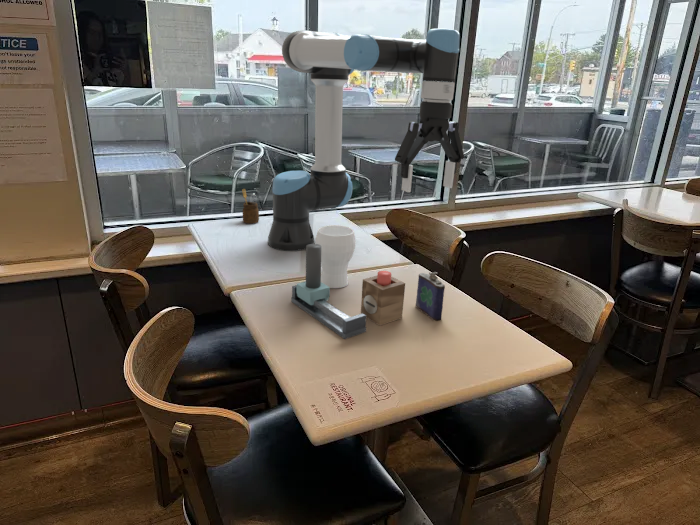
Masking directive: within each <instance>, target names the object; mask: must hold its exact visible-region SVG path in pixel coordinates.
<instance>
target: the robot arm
mask: <svg viewBox="0 0 700 525" xmlns="http://www.w3.org/2000/svg"><path fill="white" fill-rule="evenodd" d="M426 34H427V35H426V37H425V39H408V38H401V37H400V38H398V37H387V36H386V37H385V36H377V35H370V34H363V33H361V34H352V35H345V34H341V33H338V32H327V31H325V32H324V31H314V30H313V31H312V30H305V29H301V30H297V31H296V30H295V31H294V32H292V33H290V34H288V35H287V37H285V40H283V43H282V47H281V54H282V58H283V60H284V62H285V64H286V65H287V66H288V67H289V68H290V69H292V70H293V71H296V72H299V73H305V74H310V81H311V82H312V83H313V85H315V110H314V112H315V114H314V115H315V120H314V121H315V128H314V132H315V133H314V134H315V135H314V136H315V137H314V138H315V141H314V142H315V145H314V148H315V149H314V150H315V151H314V152H315V153H314V155H315V156H314V158H315V159H314V163H313V164H312V166H310V173H309V172H308V171H305V170H299V169H298V170H288V171H284V172H281V173H278V174H277V175H276V176H274V177H273V180H272V190H271V191H272V220H273V221H272V223H271V227H270V231H269V233H268V236H267V244H268V245H269V247H271V248H273V249H276V250H280V251H286V252H287V251H289V252H293V251H296V252H297V251H303V250H306V246H307V245H308V244H315V236H314V233H313V230H312V227H311V222H310V212H313V211H321V210H327V209H332V210H333V209H336V208H341V207H344V206H345V205H347V203H349V202H350V200H351V198H352V194H353V181H352V178H351V176H350V174H348V173H347V172H346V170H347V169H346V167H345V166H344V164H342V146H343V145H342V144H343V143H342V142H343V108H344V107H343V105H344V104H343V98H344V97H343V96H344V86H345V85H346V84H347V83H348V81H349V76H350V75H351V74H352V73H353V72H354V71H355V70H356V71H358V72H359V71H361V72H369V71H371V72H390V73H392V72H393V73H401V74H423V75H422V76H423V77H422V85H421V93H420V98H421V99H422V100H421V102H420V103H419V104H420V105H419V114H418V115H419V117H420V122H415V121H409V122H408V126H407V127H408V128H407V131H406V134H405V135H404V138H403V140H402V142H401V144H400V146H399V149H398V151H397V153H396V154H395V157H394V161H395V162H397V163H399V164H400V165H401V168H400V178H401V191H403V192H406V193H411V192H412V181H413V180H412V179H413V168H414V165H412V163H413V161H414V160H415V158H416V157H417V156H418V154H419V152H420V151H422V149H423V147H424V146H425V145H426V144H427V143H428V142H429V143H430V142H439V144H440V146H441V147H442V150H443V152H444V154H445V155H446V157H447V158H448V160H445V165H444V166H445V167H444V175H443V184H442V186H443V187H445V188H448V189H453V184H454V176H455V175H456V172H457V166H458V163H460V162H461V160H464V158H465V154H464V150H463V146H462V141H461V138H460V137H461V136H460V133H459V122H458V121H451V120H450V119H451V118H452V111H453V104H452V102H451V101H453V99H454V93H455V82H456V74H457V67H458V61H459V60H458V59H459V53H460V35H461V34H460V32H459V31H458V30H456V29H451V28H450V29H449V28H431V29H429V30H428V31H427V33H426ZM449 120H450V121H449Z"/></svg>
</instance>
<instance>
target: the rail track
mask: <svg viewBox="0 0 700 525" xmlns="http://www.w3.org/2000/svg"><path fill="white" fill-rule="evenodd" d="M291 287H292V288H291V289H292V290H291V303H293V304H294V305H295V306H297V307H298V308H300V309H301V310H303V311H304V312H305V313H307V314H308V315H309V316H311V317H312V318H314V319H316V320H317V321H318V322H319V323H321V324H322V325H324V326H325V327H327V328H328V329H329V330H331V331H333V332H334V333H335V334H337V335H338V336H339V337H341V338H342V339H344V340H346V339H349V338H352V337H355V336H357V335H360V334H364V333H367V317H366V315H365V314H364V313H362V314H361V313H359V314H356V315H353V316H350V315H349V314H347V313H345V312H344V311H342V310H341V309H339V308H337V307H336V306H334V305H333V304H331V303H330V302H328V301H324V300H323V299H320V300H316V301H314V305H310V304H308V303H307V302H305V301H304V300H302V299H301V298H299V297H298V296H297V284H295V285H291Z"/></svg>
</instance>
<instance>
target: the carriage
mask: <svg viewBox="0 0 700 525" xmlns="http://www.w3.org/2000/svg"><path fill="white" fill-rule="evenodd" d="M321 250H322V246H321V245H319V244H316V243H314V244H308V245H307V246H306V249H305V281H303V282H298V283H296V285H297V296H298V297H299V298H301V299H302V300H304V301H305V302H307V303H308V304H310V305H314V301H316V300H320V299H323V300H324V301H326V302H328V301H329V300H330V298H329V297H330V292H331V291H330V290H331V288H330V287H328V286H327V285H325V284H323V283H322V282H321V273H322V264H321Z"/></svg>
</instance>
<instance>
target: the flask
mask: <svg viewBox="0 0 700 525" xmlns="http://www.w3.org/2000/svg"><path fill="white" fill-rule="evenodd" d="M437 274H438V272H436V271H434V272H428V273H425V272H420V273H419V274H418V278H417V279H418V281H417V289H416V297H415V298H416V299H415V307H416V309H417V310H419V311H421V313H423V314H425V315H426V316H427V317H429V318H430V319H431V320H432V321H435V322H439V321H442V317H443V316H442V314H443V306H444V297H445V296H444V295H445V289H446V288H445V287H446V286H445V284H444V283H443V282H442V281H441V280H439V278H438V276H436V275H437Z"/></svg>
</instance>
